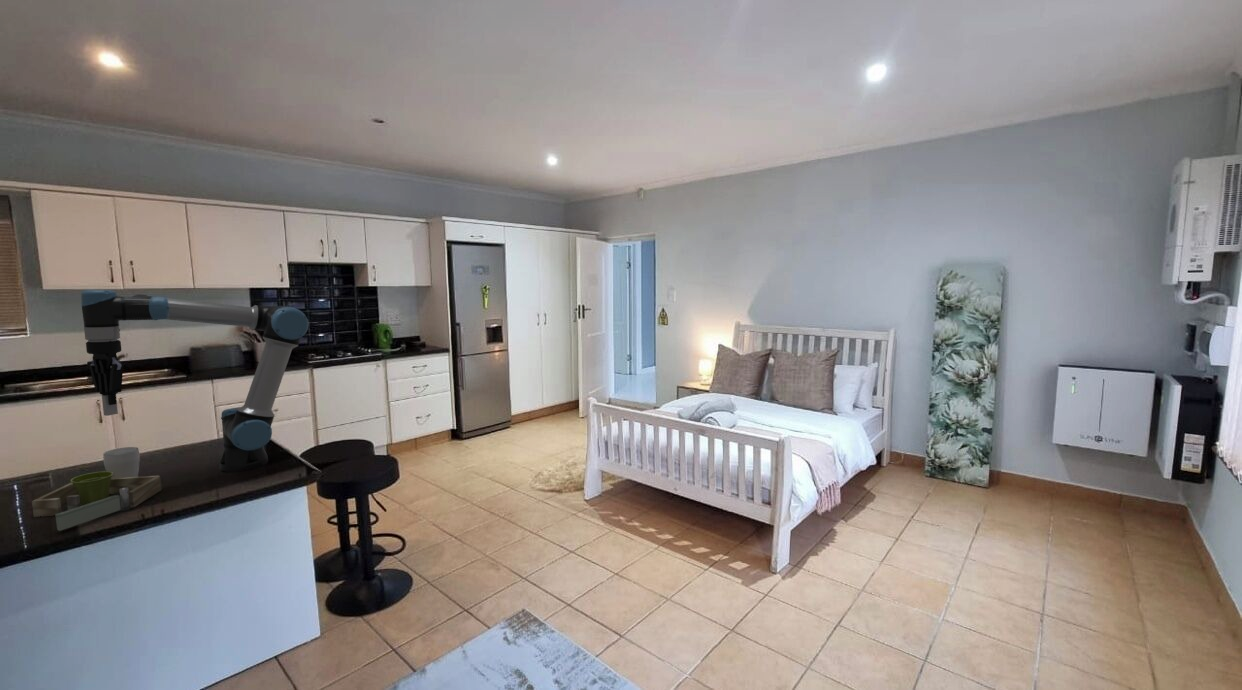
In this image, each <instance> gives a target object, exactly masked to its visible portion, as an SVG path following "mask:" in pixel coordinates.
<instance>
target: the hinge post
mask: <svg viewBox="0 0 1242 690" xmlns="http://www.w3.org/2000/svg"><path fill="white" fill-rule="evenodd" d="M119 492H120V493H119V496H120V508H121V510H120V511H121V512H127V511H130V510H131V507H130V500H129V490H128V487H123V488H120V489H119ZM129 509H130V510H129Z"/></svg>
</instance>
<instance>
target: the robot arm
mask: <svg viewBox="0 0 1242 690" xmlns="http://www.w3.org/2000/svg"><path fill="white" fill-rule="evenodd" d="M80 295H81V311H82V320H83V331H84V339H85V340H86V342H85V349H86V353H87V354H89V355H92V360H91V361H89V360H88V361H87V363H86V364H87V367H88V368H89V370H90V373H91V374H90V375H91V378H92V383H93V386H94V390H95V392H96V393H98V392H99V394H100V395H101V400H102V401H101V402H102V411H103V416H107V417H108V416H112V415H118V414H119V410H118V402H117V394H119V393H121V392H122V386H123V372H124V368H125V363H124V362H119V361H118V359H119V358H118V356H117V353H120V352H122V343H121V340H119V339H121V333H120V331H121V328H120V323H119V322H120V321H122V322H123V321H159V320H161V321H162V320H169V321H178V322H179V321H181V322H192V323H199V324H200V323H202V324H211V325H212V324H213V325H225V326H235V327H236V326H237V327H247V328H250V329H251V330H252V331H261V332H263V335H262V339H263V340H264V342H265V344H264V347H263V350H262V353H261V355H260V358H259V361H258V363H257V367H256V370H255V373H254V375H253V379H252V382H251V384H250V387H249V390H248V393H247V396H246V399H245V401H244V404H243V405H242V406H238V407H233V408H231V407H230V408H227V409H226V408H225V409H224V410H223V411H221V417H220V420H221V426H222V427H221V428H222V442H223V451H222V454H221V456H220V460H219V466H218V467H219V470H220V471H221V472H228V473H237V472H246V471H250V470H255V469H257V468H260V467H262V466H264V465H266V464H268V462H269V457H268V454H267V452H266V450H265V448H264V446H266V445H267V444H268V443H269V442H270V441H271V439H272V437H273V435H272V434H273V429H272V424H273V421H274V419H275V414H274V411H273V410H272V409H273V406H274V404H275V401H276V398H277V396H278V391H279V389H280V386H281V383H282V380H283V377H284V374H285V371H286V368H287V366H288V363H289V360H290V356H291V353H292V350H294V349H295V348H296V347H299V344H300V342H301V339H302V337H303V336H304V335H306V333H307V332H308V330H309V325H310V323H309V319H308V317H307V316H306V314H305V313H304V312H303V311H301V310H300V309H298V308H296V307H292V306H285V305H258V304H257V305H256V304H254V305H253V306H251V307H250V306H243V305H234V304H224V303H218V302H217V303H216V302H205V301H197V300H190V299H179V298H170V297H166V296H156V295H155V296H152V295H151V296H150V295H147V294H146V295H145V294H136V295H133V296H118V295H117V292H116V291H115V290H110V289H107V290H106V289H105V290H104V289H89V290H88V289H87V290H84V291H83V292H81V293H80Z"/></svg>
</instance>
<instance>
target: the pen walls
mask: <svg viewBox="0 0 1242 690" xmlns="http://www.w3.org/2000/svg"><path fill="white" fill-rule="evenodd" d="M123 487H128V490H129V500H130V508H135V507H137V506H138V505H139V504H140V505H141V503H143V502H145V501H146V500H148V499H149V498H151V497H153V496H154V495H157V493H159V492H161V491H162V482H161V476H160V475H147V476H146V475H144V476H143V475H141V476H138V477H124V478H111V480H110V486H109V495H113V494H114V495H117V494H120V492H119V489H120V488H123ZM65 504H66V505H67V510H70V509H74V508H77V507H80V506H81V504H80V497H79V495H78V494H77V491H76V488H75V486H74V485H73V483H71V482H69V483H67V484H65V485H63V486H61V487H59V488H56V489H54V490H52V491H51V492H48V493H46V494H43V495H42V496H39V497H38V498H36V499H33V500H32V501H31V505H32V512H33V513H32V514H33V518H37V517H39V518H40V516H41V517H52V516H53V515H55V514H58V513H61V512H63V511H62V505H65ZM53 517H54V516H53Z"/></svg>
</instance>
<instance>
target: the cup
mask: <svg viewBox="0 0 1242 690" xmlns="http://www.w3.org/2000/svg"><path fill="white" fill-rule="evenodd" d="M102 457H103V460H102V461H103V465H104V468H105V471H109V472H113V475H112V477H111V478H124V477H139V471H140V469H139V468H140V460H141V455H140V450H139V447H136V446H127V447H126V446H125V447H120V448H118V447H117V448H114V449H110V450H108V451H104V452H103V456H102Z"/></svg>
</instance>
